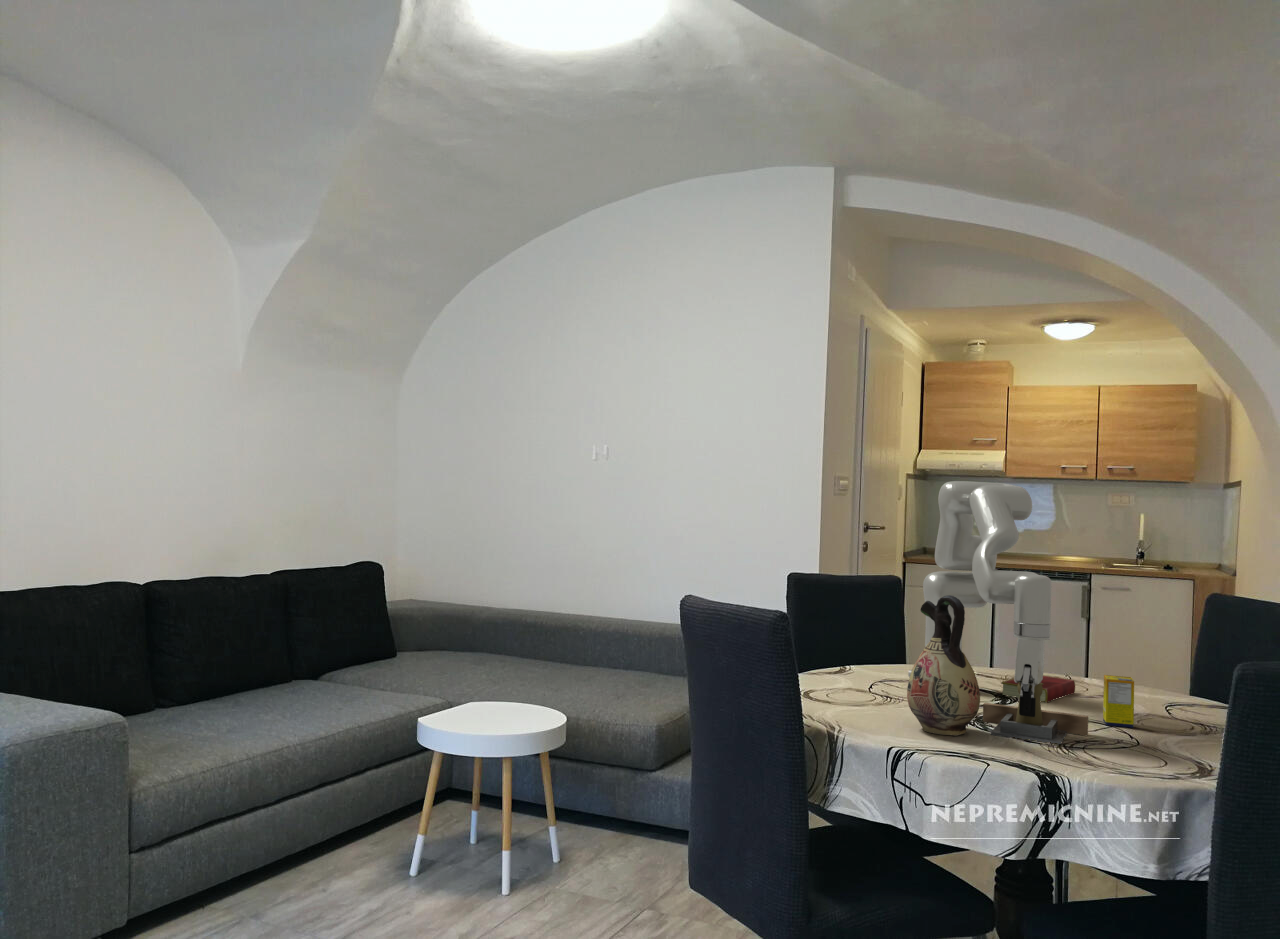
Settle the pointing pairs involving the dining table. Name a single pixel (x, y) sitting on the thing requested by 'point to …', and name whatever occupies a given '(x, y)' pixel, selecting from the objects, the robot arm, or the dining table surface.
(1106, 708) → the supplement box
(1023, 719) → the cork
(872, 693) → the dining table surface
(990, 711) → the door edge rail
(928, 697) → the ceramic jug
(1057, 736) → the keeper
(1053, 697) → the hardcover book
